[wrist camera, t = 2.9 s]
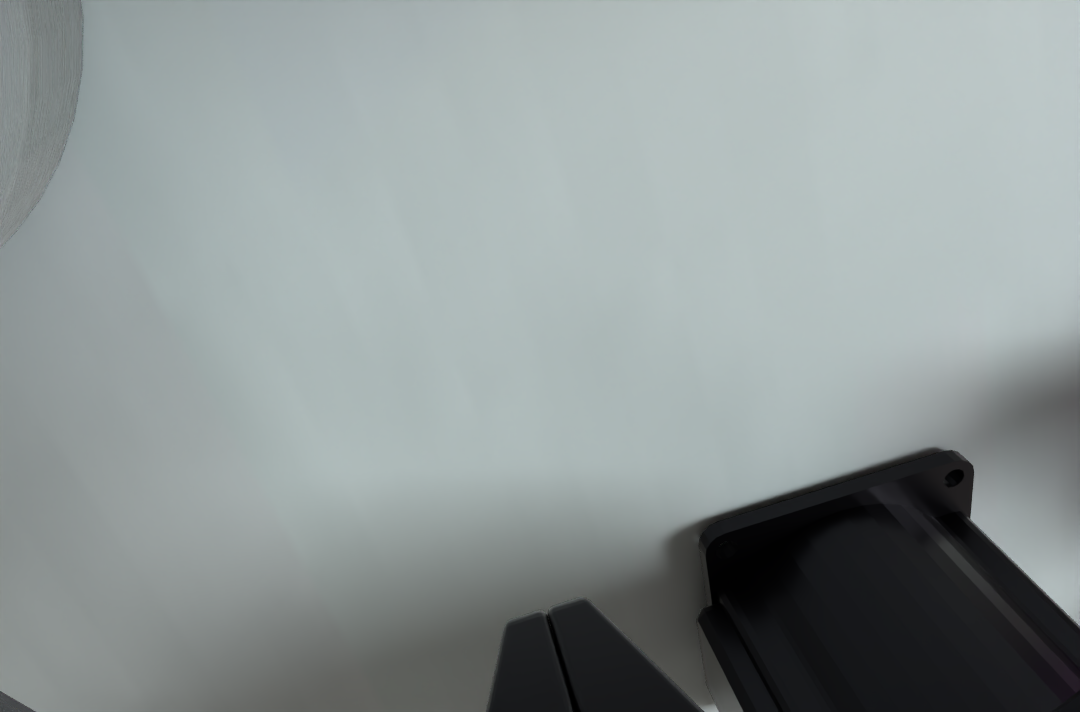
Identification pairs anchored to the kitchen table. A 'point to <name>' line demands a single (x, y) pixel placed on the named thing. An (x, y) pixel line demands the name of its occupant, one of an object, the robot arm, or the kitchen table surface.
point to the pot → (35, 99)
